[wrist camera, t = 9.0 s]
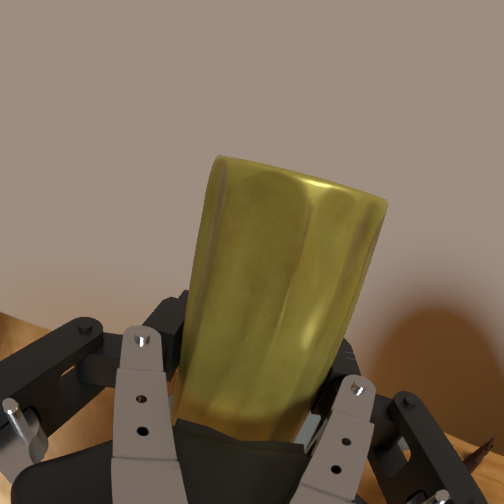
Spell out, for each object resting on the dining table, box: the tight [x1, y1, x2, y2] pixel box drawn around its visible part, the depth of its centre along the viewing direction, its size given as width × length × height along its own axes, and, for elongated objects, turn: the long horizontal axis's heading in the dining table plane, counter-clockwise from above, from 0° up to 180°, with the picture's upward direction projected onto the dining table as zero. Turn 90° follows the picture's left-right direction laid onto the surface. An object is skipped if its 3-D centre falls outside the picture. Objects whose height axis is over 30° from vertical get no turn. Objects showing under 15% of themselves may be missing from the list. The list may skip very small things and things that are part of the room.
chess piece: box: [463, 438, 495, 474], centre depth 22 cm, size 5×5×10 cm
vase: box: [170, 155, 388, 443], centre depth 10 cm, size 6×6×14 cm
